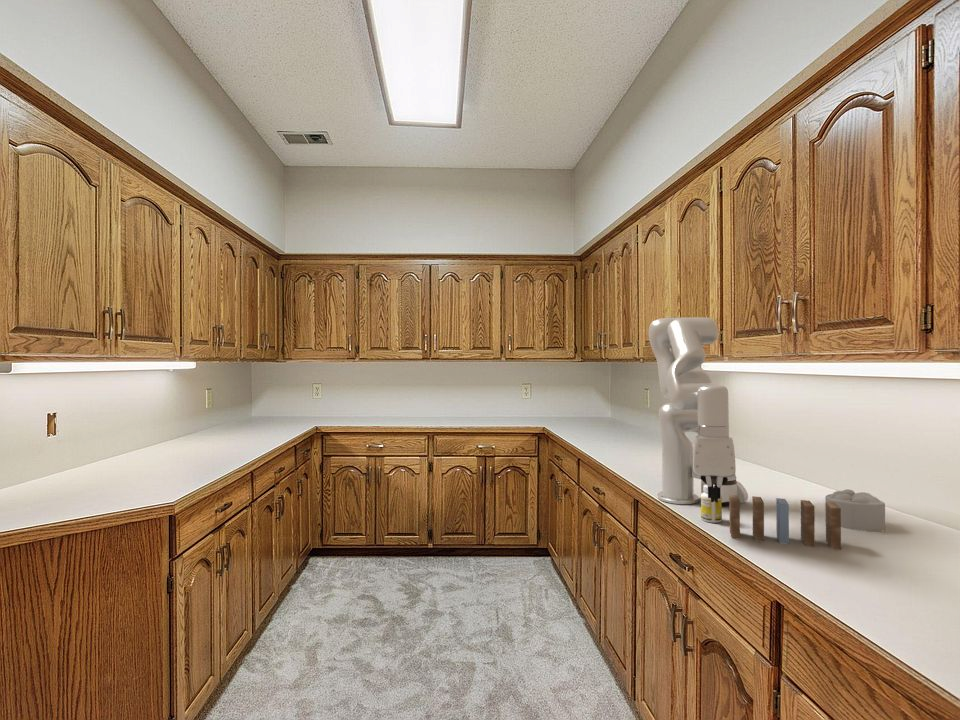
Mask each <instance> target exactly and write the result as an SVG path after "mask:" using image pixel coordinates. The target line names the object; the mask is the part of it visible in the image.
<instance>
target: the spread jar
mask: <svg viewBox="0 0 960 720" xmlns="http://www.w3.org/2000/svg"><path fill="white" fill-rule="evenodd" d="M710 477H711V482H712V483H713V485H715V483H716V480H717V476H710ZM704 485H706V484H705V483H704V482H703V481H702V480H701V479H700V491H701V492H700V493H701V494H702V493H704V490H703V486H704ZM720 494H721V499H722V507H729V495H738V497H739V500H740V504H742V503H745V502H747V501H748V500H749V493H748V491H747V490H746V488H745V486H744V485H743V484H742V483H741V482H740V481H737V479H736V480H733V481H727V482H726V483H724V484H723V485H722V487H720Z"/></svg>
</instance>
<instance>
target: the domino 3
mask: <svg viewBox="0 0 960 720" xmlns="http://www.w3.org/2000/svg"><path fill="white" fill-rule="evenodd" d="M815 525H816V524H815V505H814V504H813V503H812V502H811V501H810V500H806V499H800V540H801V542H802V544H804V546H806V547H813V548H814V547H815V546H816V545H815V539H816V538H815V537H816V535H815V530H816V529H815Z"/></svg>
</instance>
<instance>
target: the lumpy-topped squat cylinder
mask: <svg viewBox="0 0 960 720" xmlns="http://www.w3.org/2000/svg"><path fill="white" fill-rule="evenodd" d="M824 499H825V500H824V501H825V502H824V503H825V504H824V506H825V507H824V508H825V509H824V510H825V517H824V521H825V523H826V502H833V503H836V504H837V505H838V506H839V507H840V508H841V528H842V527H843V528H844V529H848V530H853V531H856V530H857V531H864V530H866V531H865V532H867V531H868V532H883V531H882V530H884V531H885V530H886V503H885V502H884V501H882V500H880V499H879V498H877V497H876V496H874V495H872V494H870V493H868V492H855V491H854V490H852V489H844V490H836V491H834V492H832V493H829V494H827V495H825V498H824ZM843 528H842V529H843Z"/></svg>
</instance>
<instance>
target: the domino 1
mask: <svg viewBox="0 0 960 720" xmlns="http://www.w3.org/2000/svg"><path fill="white" fill-rule="evenodd" d="M728 507H729V512H728V513H729V535H730V534H731V535H730V538H731V537H732V538H731V539H736V538H740V539H741V503H740V500H739V497H738V495H729V506H728Z"/></svg>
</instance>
